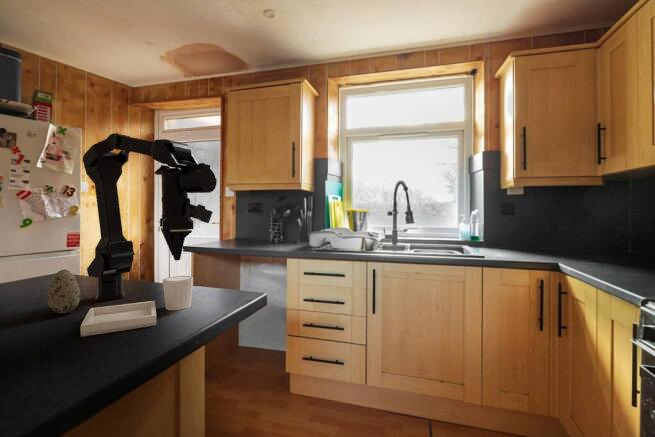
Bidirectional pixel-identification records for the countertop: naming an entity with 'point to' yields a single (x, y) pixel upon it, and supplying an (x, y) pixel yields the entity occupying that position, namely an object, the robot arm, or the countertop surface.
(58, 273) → the decorative egg
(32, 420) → the countertop surface
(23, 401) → the countertop surface
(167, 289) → the white cup
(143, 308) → the tray
